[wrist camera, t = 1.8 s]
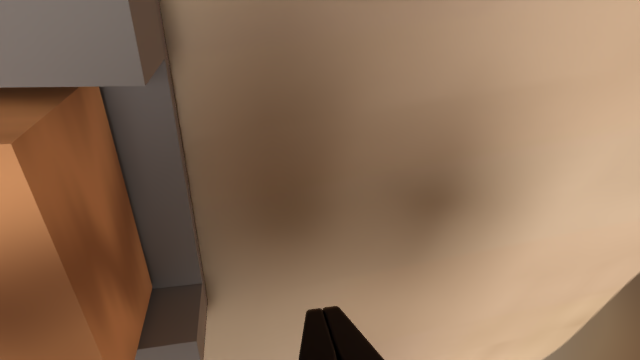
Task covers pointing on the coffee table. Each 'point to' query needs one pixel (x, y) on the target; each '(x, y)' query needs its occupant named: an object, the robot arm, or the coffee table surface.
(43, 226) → the orange block
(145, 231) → the chute
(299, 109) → the coffee table surface
